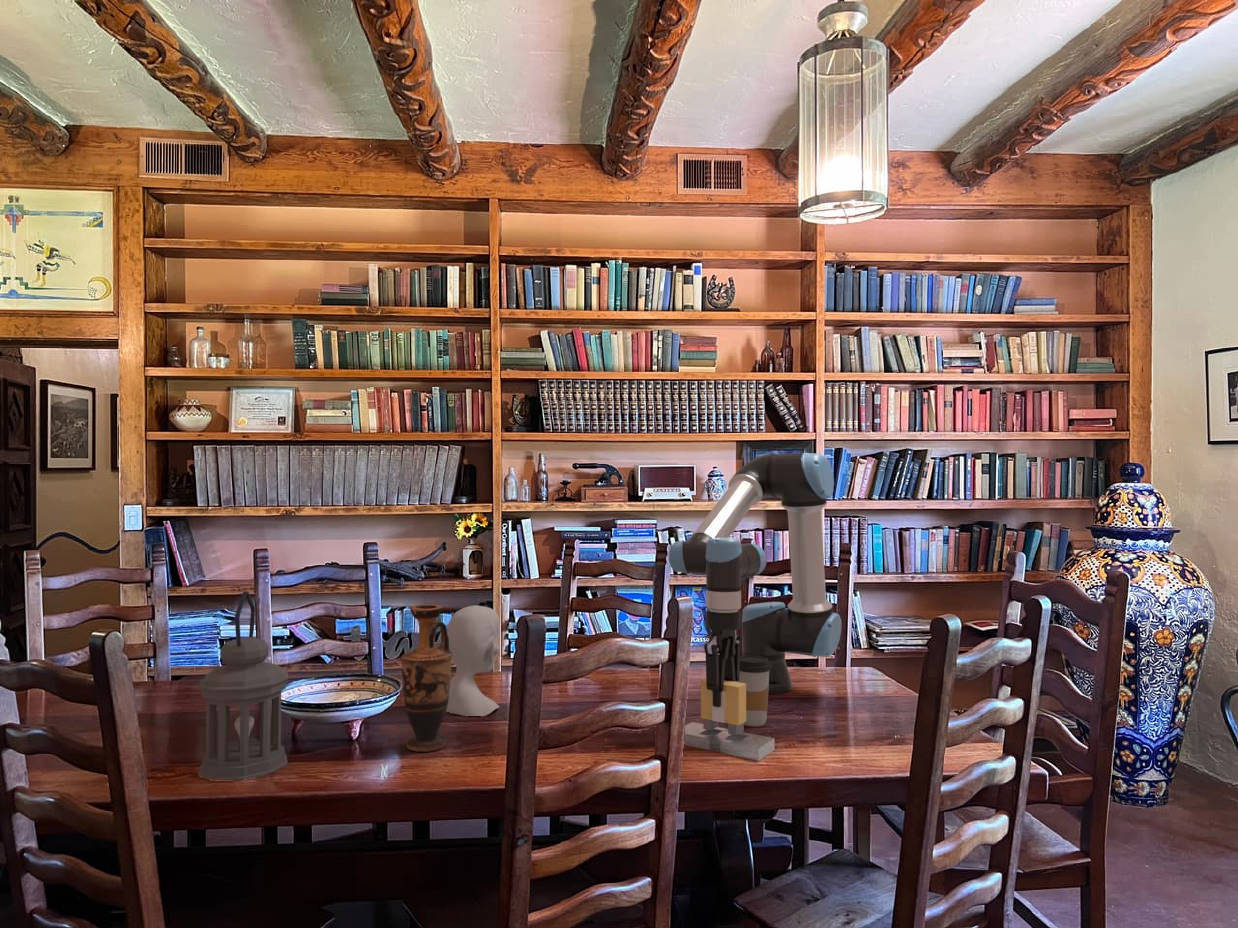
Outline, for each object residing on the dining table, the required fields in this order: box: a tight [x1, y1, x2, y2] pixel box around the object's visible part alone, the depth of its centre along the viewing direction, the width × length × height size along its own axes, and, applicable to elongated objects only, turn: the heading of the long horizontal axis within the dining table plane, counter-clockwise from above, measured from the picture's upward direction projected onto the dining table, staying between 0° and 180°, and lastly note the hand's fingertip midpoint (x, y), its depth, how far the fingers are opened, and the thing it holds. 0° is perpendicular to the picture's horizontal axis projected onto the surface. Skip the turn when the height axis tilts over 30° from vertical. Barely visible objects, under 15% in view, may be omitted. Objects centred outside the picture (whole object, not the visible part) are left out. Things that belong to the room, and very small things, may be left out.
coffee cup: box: [736, 655, 770, 727], centre depth 189 cm, size 8×8×15 cm
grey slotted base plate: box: [684, 721, 775, 762], centre depth 172 cm, size 20×8×2 cm, turn 56°
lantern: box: [197, 590, 290, 780], centre depth 161 cm, size 17×17×35 cm
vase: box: [400, 603, 453, 753], centre depth 173 cm, size 11×11×30 cm
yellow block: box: [700, 678, 746, 735], centre depth 172 cm, size 9×4×10 cm, turn 56°
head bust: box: [446, 604, 501, 717], centre depth 205 cm, size 22×19×25 cm
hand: (723, 718), depth 172 cm, fingers closed on yellow block, 4 cm apart
